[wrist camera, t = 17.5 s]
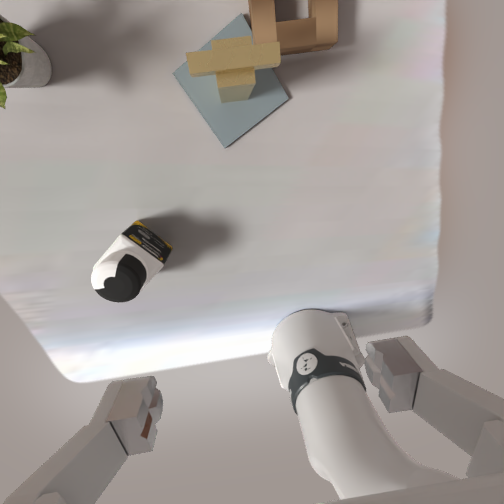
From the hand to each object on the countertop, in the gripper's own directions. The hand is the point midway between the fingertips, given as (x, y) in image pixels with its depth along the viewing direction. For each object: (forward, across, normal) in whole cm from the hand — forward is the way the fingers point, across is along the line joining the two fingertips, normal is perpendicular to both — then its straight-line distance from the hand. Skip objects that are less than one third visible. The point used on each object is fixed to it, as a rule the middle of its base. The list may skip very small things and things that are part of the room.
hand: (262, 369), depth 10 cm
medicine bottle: (+34, +17, +7) cm, 39 cm away
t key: (+34, -1, -14) cm, 36 cm away
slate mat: (+34, -1, -14) cm, 37 cm away
